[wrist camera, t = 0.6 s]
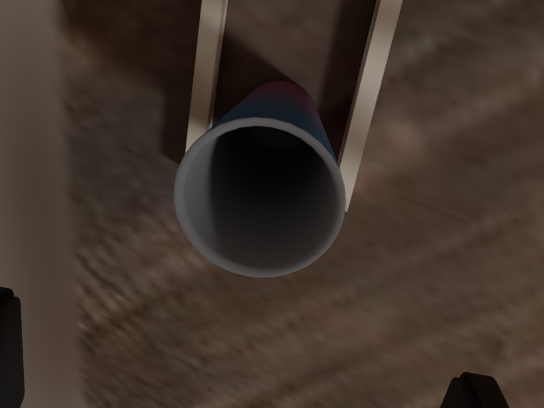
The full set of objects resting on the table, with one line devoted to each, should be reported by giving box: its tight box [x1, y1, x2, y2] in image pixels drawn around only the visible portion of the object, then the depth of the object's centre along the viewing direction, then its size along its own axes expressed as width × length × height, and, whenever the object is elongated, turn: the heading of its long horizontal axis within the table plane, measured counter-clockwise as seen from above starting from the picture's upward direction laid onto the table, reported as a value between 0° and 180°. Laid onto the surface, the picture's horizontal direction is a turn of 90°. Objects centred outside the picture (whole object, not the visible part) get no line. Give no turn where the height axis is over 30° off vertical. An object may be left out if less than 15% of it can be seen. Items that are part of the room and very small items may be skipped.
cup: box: [173, 80, 346, 278], centre depth 26 cm, size 7×7×15 cm
